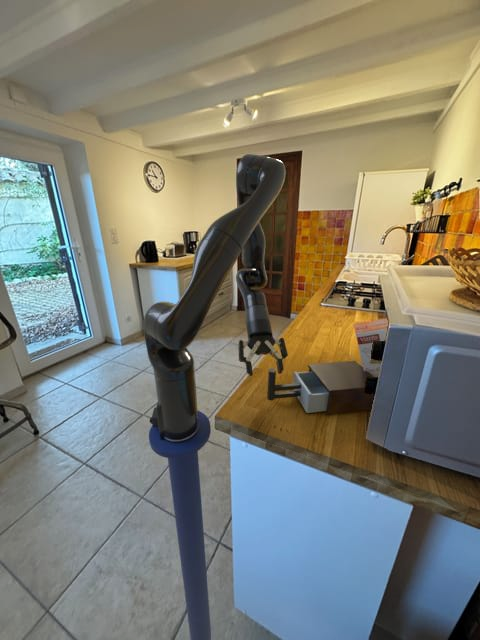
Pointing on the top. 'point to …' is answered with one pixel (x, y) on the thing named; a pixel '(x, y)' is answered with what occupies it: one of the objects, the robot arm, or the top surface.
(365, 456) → the top surface
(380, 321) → the cracker box
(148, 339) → the robot arm
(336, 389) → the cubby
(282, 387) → the drawer
